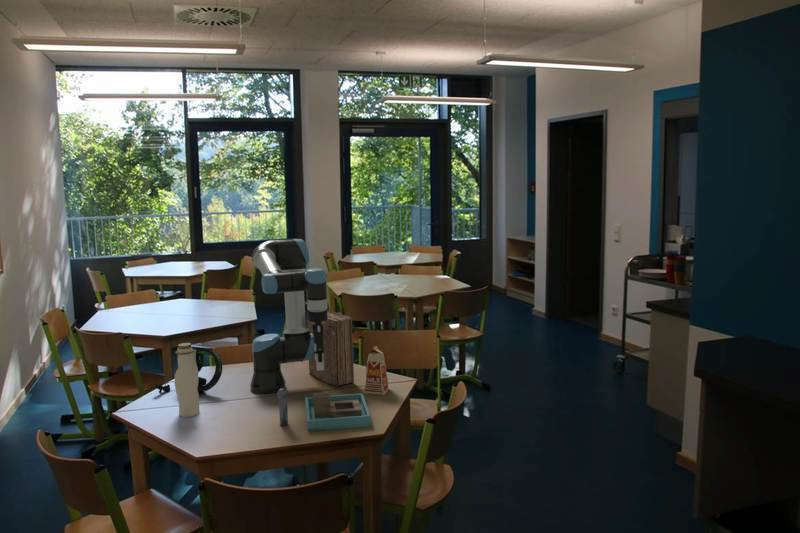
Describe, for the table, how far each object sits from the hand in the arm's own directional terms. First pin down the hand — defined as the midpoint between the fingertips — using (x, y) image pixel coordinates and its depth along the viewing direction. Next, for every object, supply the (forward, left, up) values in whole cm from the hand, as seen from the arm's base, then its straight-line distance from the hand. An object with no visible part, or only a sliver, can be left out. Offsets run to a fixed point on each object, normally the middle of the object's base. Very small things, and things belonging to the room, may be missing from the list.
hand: (319, 364), depth 252 cm
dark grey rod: (+5, -14, -21) cm, 25 cm away
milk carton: (-26, +25, -21) cm, 42 cm away
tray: (+1, +6, -21) cm, 22 cm away
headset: (-42, -54, -21) cm, 72 cm away
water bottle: (-16, -51, -21) cm, 58 cm away
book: (-47, +7, -21) cm, 52 cm away
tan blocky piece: (+1, +6, -20) cm, 21 cm away
